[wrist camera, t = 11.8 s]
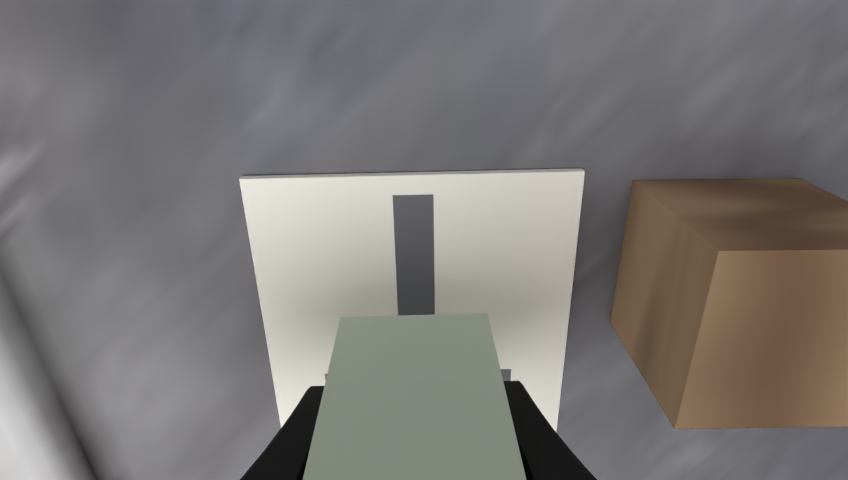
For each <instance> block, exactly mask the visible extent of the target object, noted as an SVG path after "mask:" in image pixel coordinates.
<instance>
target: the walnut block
mask: <svg viewBox="0 0 848 480" xmlns="http://www.w3.org/2000/svg"><path fill="white" fill-rule="evenodd" d="M610 323H611V325H612V327H613V328H614V330H615V331H616V333H617V335H618V336H619V338H620V340H621V341H622V343H623V345H624V346H625V348H626V350H627V351H628V353H629V355H630V356H631V358H632V360H633V361H634V363H635V364H636V366H637V368H638V369H639V371H640V373H641V374H642V376H643V378H644V379H645V381H646V383H647V384H648V386H649V388H650V389H651V391H652V393H653V394H654V396H655V397H656V399H657V401H658V402H659V404H660V406H661V407H662V409H663V411H664V412H665V414H666V416H667V417H668V419H669V421H670V422H671V424H672V426H673V427H674V429H717V428H780V427H843V426H848V201H846V200H844V199H841V198H839V197H837V196H835V195H833V194H831V193H828V192H826V191H824V190H822V189H820V188H818V187H816V186H813V185H811V184H809V183H807V182H805V181H803V180H801V179H699V180H633V182H632V188H631V195H630V201H629V207H628V213H627V219H626V225H625V231H624V237H623V244H622V250H621V256H620V262H619V268H618V274H617V280H616V286H615V293H614V299H613V305H612V311H611V317H610Z"/></svg>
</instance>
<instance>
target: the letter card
mask: <svg viewBox="0 0 848 480" xmlns="http://www.w3.org/2000/svg"><path fill="white" fill-rule="evenodd" d="M584 175H585V171H584V170H583V169H582V168H575V169H530V170H486V171H442V172H398V173H353V174H309V175H265V176H242V177H241V178H240V179H239V181H240V187H241V192H242V198H243V204H244V210H245V216H246V222H247V228H248V234H249V240H250V246H251V252H252V258H253V264H254V270H255V276H256V281H257V287H258V293H259V299H260V305H261V311H262V317H263V323H264V329H265V335H266V341H267V347H268V353H269V359H270V365H271V370H272V376H273V382H274V388H275V394H276V400H277V406H278V412H279V418H280V424H281V428H282V426H283V425H284V424H285V422H286V421H287V419H288V418H289V416H290V415H291V414H292V412H293V411H294V409H295V408H296V406H297V405H298V403H299V402H300V400H301V398H302V397H303V395H304V394H305V392H306V390H307V389H308V388H309V387H311V386H325V382H326V377H327V373H328V369H329V364H330V360H331V356H332V352H333V347H334V343H335V339H336V334H337V330H338V326H339V321H340V317H358V316H397V315H437V314H476V313H487V314H488V318H489V322H490V327H491V331H492V335H493V339H494V344H495V348H496V352H497V356H498V361H499V365H500V369H501V374H502V378H503V381H520V382H521V383H522V384H523V385H524V387H525V389H526V390H527V392H528V393H529V395H530V397H531V398H532V400H533V401H534V403H535V404H536V406H537V407H538V408H539V410H540V411H541V413H542V414H543V415H544V417H545V418H546V420H547V421H548V422H549V424H550V425H551V426H552V428H553V429H554V430H555V431H557V422H558V413H559V404H560V395H561V385H562V376H563V367H564V358H565V349H566V340H567V331H568V321H569V312H570V303H571V294H572V285H573V276H574V267H575V257H576V248H577V239H578V230H579V221H580V212H581V203H582V194H583V184H584Z"/></svg>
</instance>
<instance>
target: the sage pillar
mask: <svg viewBox="0 0 848 480" xmlns="http://www.w3.org/2000/svg"><path fill="white" fill-rule="evenodd" d="M303 480H526V476H525V472H524V467H523V463H522V459H521V455H520V450H519V446H518V442H517V438H516V433H515V429H514V425H513V420H512V416H511V412H510V408H509V403H508V399H507V395H506V391H505V386H504V382H503V378H502V374H501V369H500V365H499V361H498V356H497V352H496V348H495V344H494V339H493V335H492V331H491V327H490V322H489V318H488V314H487V313H476V314H437V315H397V316H358V317H340V321H339V326H338V330H337V334H336V339H335V343H334V347H333V352H332V356H331V360H330V364H329V369H328V373H327V377H326V382H325V386H324V390H323V395H322V399H321V403H320V407H319V412H318V416H317V420H316V425H315V429H314V433H313V437H312V442H311V446H310V450H309V455H308V459H307V463H306V468H305V472H304V476H303Z"/></svg>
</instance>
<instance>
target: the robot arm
mask: <svg viewBox="0 0 848 480" xmlns="http://www.w3.org/2000/svg"><path fill="white" fill-rule="evenodd" d="M503 382H504V386H505V391H506V395H507V399H508V403H509V408H510V412H511V416H512V420H513V425H514V429H515V433H516V438H517V442H518V446H519V450H520V455H521V459H522V463H523V467H524V472H525V476H526V480H597V479H596V478H595V477H594V476H593V475H592V474H591V473H590V472H589V471H588V470H587V468H586V467H585V466H584V465H583V464H582V463H581V462H580V461H579V459H578V458H577V457H576V456H575V455H574V454H573V453H572V451H571V450H570V449H569V448H568V447H567V445H566V444H565V443H564V442H563V440H562V439H561V438H560V437H559V435H558V434H557V433H556V431H555V430H554V429H553V428H552V426H551V425H550V424H549V422H548V421H547V420H546V418H545V417H544V415H543V414H542V413H541V411H540V410H539V408H538V407H537V406H536V404H535V403H534V401H533V400H532V398H531V397H530V395H529V393H528V392H527V390H526V389H525V387H524V385H523V384H522V383H521V382H520V381H503ZM323 390H324V386H311V387H309V388H308V389H307V390H306V392H305V394H304V395H303V397H302V398H301V400H300V402H299V403H298V405H297V406H296V408H295V409H294V411H293V412H292V414H291V415H290V416H289V418H288V419H287V421H286V422H285V424H284V425H283V426H282V428H281V429H280V430H279V432H278V433H277V434H276V436H275V437H274V438H273V440H272V441H271V442H270V444H269V445H268V446H267V448H266V449H265V450H264V452H263V453H262V454H261V455H260V456H259V458H258V459H257V460H256V461H255V462H254V464H253V465H252V466H251V467H250V468H249V470H248V471H247V472H246V473H245V474H244V476H243V477H242V478H241V479H240V480H303V476H304V472H305V468H306V463H307V459H308V455H309V450H310V446H311V442H312V437H313V433H314V429H315V425H316V420H317V416H318V412H319V407H320V403H321V399H322V395H323Z"/></svg>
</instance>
